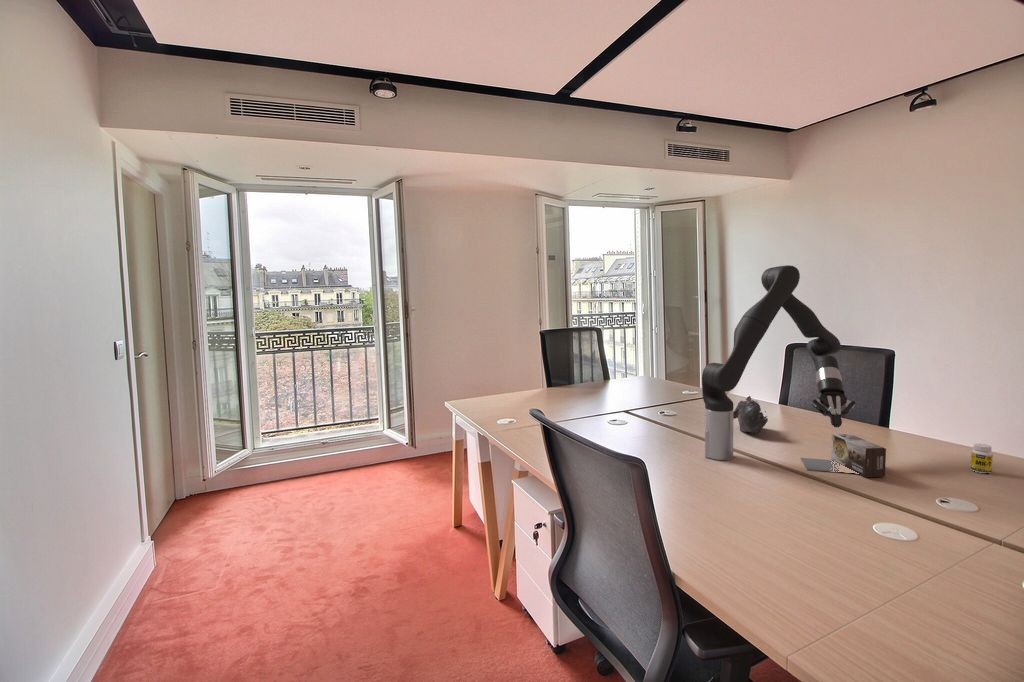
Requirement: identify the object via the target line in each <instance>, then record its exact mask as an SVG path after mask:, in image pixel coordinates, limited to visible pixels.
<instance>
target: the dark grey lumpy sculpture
mask: <svg viewBox="0 0 1024 682" xmlns="http://www.w3.org/2000/svg"><path fill="white" fill-rule="evenodd" d="M751 397H752V396H751V395H749V396H747V397H746V398H745V400H740V401H739V402H738V403H737V405H736V407H735V409H734V410H733V420H734V419H735V420H736V419H737V421H738V425H739V431H741V432H744V433H760V431H761V430H762V429H763V428H764V427H765V426H766V425H767V423H768V420H769V419H768V417H769V416H768V415H765V416H764V413H763V411H762V409H761V406H760V404H759V402H758V400H754V399H752V398H751ZM764 412H765V413H767V411H766V410H764Z"/></svg>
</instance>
